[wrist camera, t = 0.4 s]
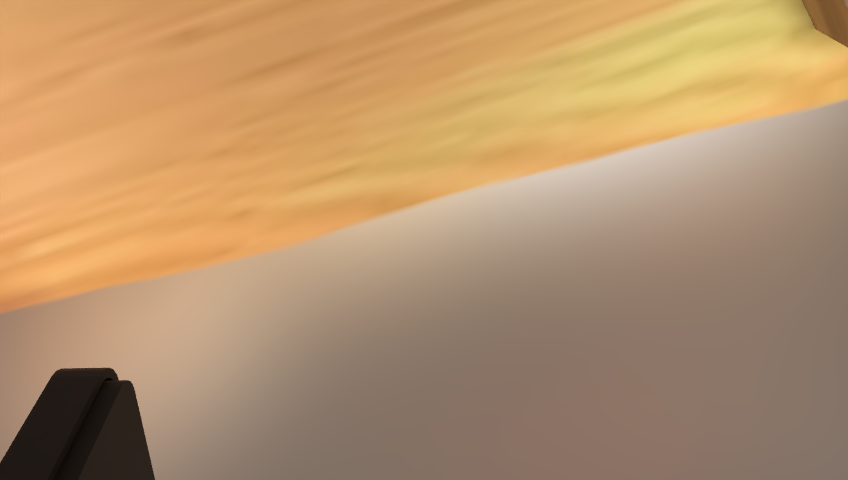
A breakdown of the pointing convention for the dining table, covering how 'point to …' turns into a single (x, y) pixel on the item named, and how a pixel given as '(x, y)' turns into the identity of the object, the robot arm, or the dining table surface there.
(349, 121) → the dining table surface
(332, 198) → the dining table surface
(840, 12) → the walnut block
